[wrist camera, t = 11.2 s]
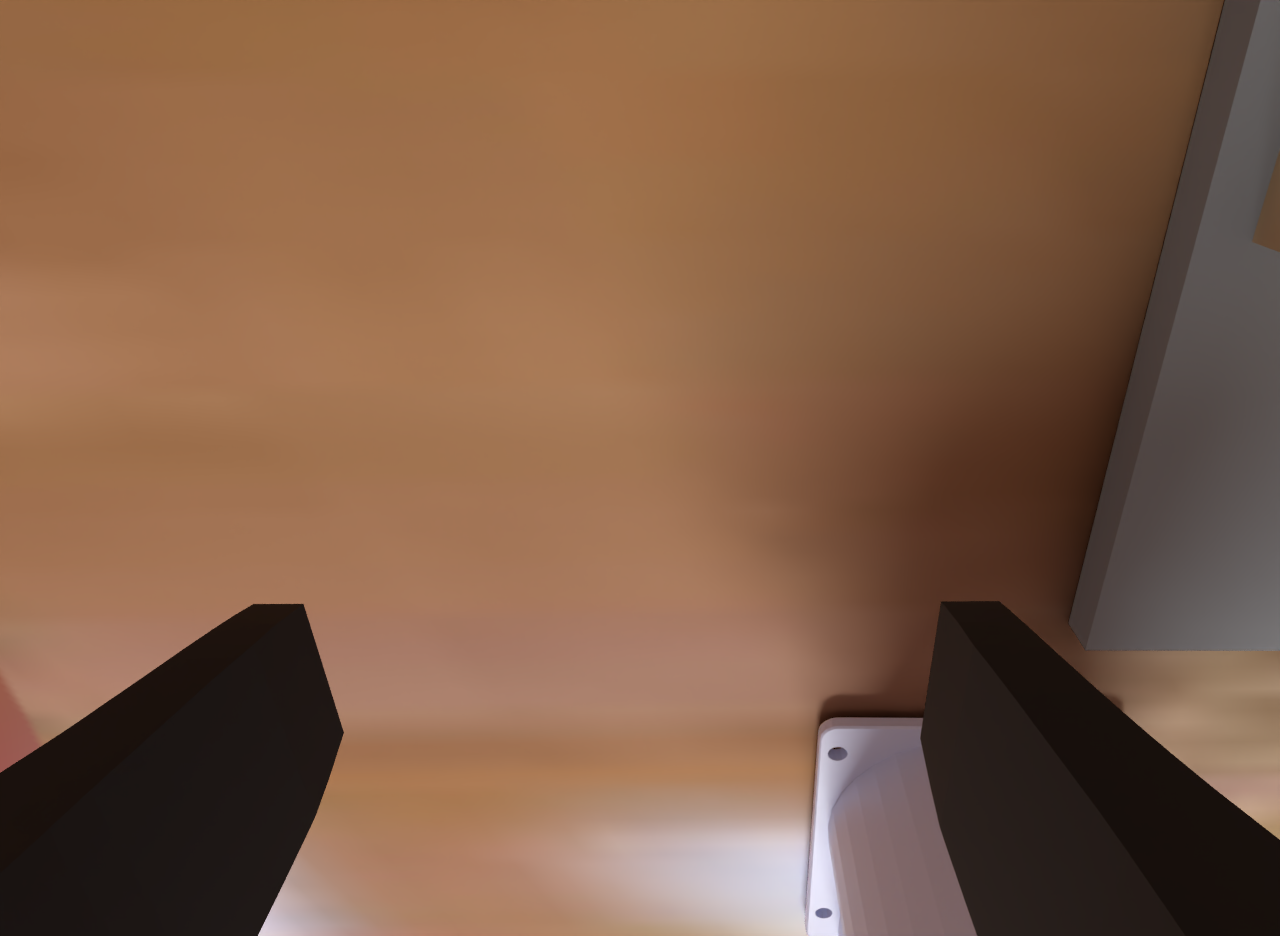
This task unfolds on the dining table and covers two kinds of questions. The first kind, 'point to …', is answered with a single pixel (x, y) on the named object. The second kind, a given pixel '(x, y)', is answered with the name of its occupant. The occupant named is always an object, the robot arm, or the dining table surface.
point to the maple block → (1270, 214)
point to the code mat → (1202, 392)
